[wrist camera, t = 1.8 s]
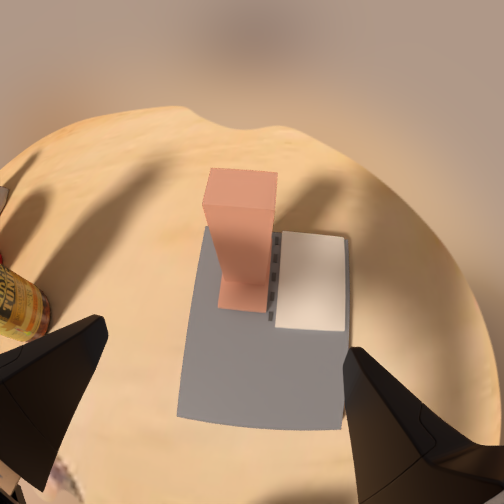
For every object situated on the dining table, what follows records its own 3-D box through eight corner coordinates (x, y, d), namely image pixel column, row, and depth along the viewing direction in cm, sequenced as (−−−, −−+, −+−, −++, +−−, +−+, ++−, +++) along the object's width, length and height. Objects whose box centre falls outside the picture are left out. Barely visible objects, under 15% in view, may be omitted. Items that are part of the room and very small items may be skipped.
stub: (228, 237, 23) (212, 138, 13) (271, 241, 23) (285, 143, 13) (218, 308, 20) (185, 247, 10) (265, 313, 20) (279, 256, 10)
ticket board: (207, 232, 25) (204, 223, 23) (343, 245, 24) (349, 237, 23) (180, 413, 18) (175, 417, 17) (336, 426, 18) (342, 430, 16)
